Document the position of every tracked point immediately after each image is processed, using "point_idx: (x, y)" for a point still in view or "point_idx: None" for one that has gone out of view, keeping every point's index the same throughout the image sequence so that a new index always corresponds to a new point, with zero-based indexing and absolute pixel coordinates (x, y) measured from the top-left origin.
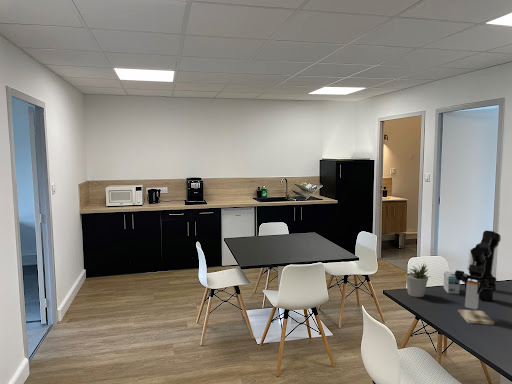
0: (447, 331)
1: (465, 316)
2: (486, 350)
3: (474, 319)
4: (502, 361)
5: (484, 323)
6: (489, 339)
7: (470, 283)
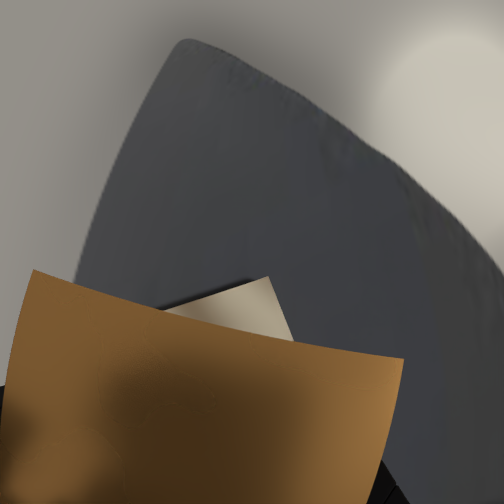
0: (349, 136)
1: (287, 339)
2: (208, 75)
3: (227, 310)
4: (179, 55)
5: None
6: (180, 141)
7: (255, 334)
